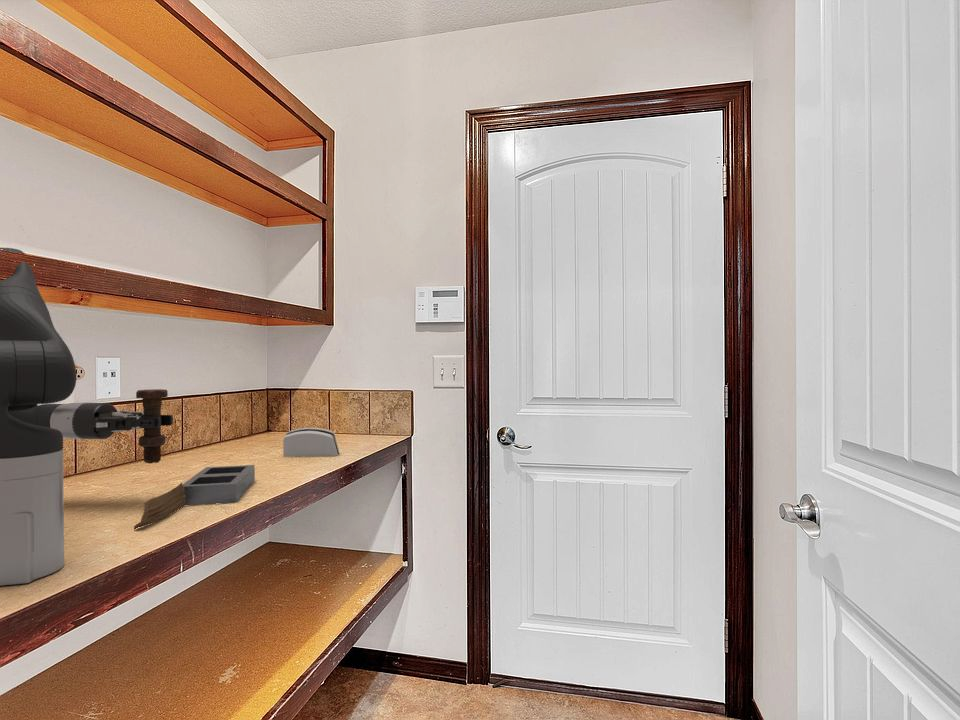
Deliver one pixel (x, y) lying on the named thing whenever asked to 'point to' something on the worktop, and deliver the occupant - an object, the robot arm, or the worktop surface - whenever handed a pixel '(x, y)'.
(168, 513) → the wood plank
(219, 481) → the two-slot grey tray
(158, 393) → the bolt
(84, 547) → the worktop surface
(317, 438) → the grey napkin holder
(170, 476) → the worktop surface
